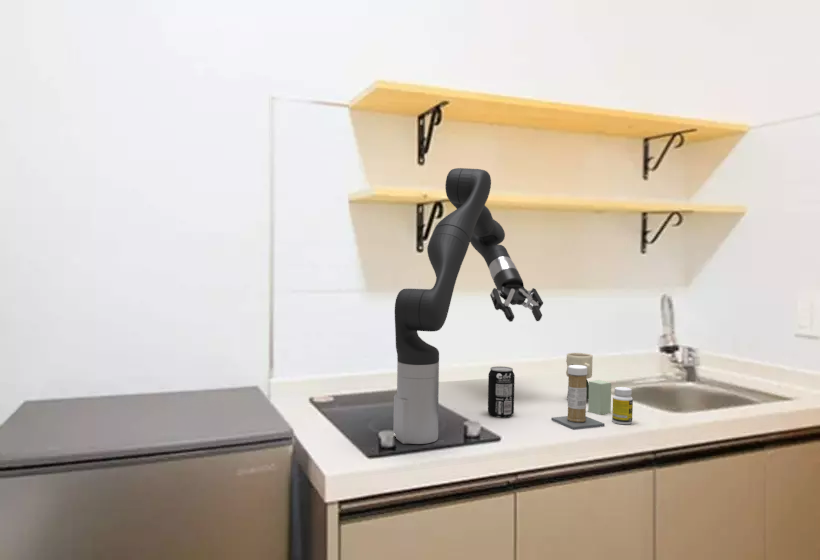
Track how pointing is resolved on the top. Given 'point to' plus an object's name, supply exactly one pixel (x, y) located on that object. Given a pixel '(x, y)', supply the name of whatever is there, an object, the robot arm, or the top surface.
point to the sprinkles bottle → (577, 393)
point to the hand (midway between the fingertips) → (525, 319)
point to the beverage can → (501, 392)
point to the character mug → (581, 360)
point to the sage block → (599, 397)
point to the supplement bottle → (622, 406)
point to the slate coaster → (578, 423)
